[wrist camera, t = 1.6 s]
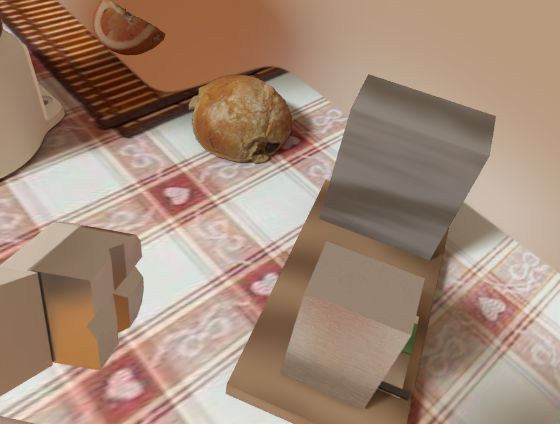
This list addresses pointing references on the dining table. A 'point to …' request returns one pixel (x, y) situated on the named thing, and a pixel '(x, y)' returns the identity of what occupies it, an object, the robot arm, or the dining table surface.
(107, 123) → the dining table surface
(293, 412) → the base
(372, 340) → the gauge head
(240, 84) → the bread roll
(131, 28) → the fruit slice
